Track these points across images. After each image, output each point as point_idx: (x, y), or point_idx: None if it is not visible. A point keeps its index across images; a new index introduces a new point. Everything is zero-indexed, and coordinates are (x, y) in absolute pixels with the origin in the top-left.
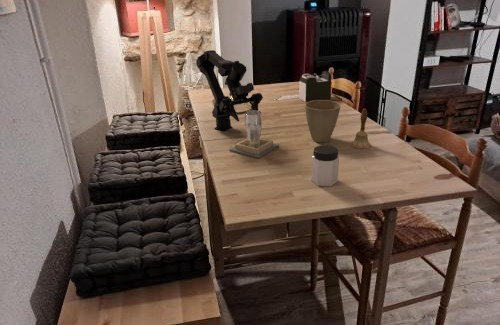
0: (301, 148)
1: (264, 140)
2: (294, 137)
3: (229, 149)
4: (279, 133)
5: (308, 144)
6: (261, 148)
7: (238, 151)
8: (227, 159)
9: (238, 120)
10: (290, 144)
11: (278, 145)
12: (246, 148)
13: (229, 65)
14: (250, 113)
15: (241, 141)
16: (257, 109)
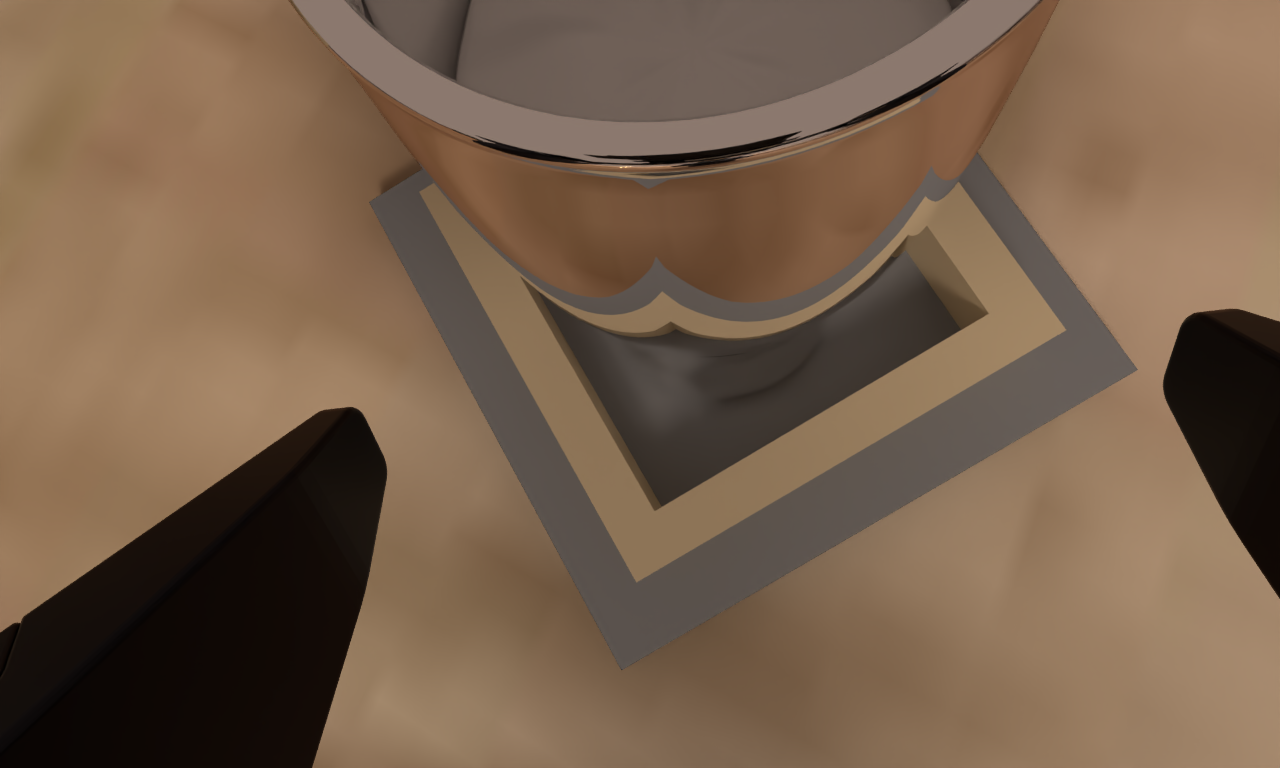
0: (178, 42)
1: (523, 279)
2: (34, 425)
3: (1134, 369)
4: None
5: (38, 121)
6: None
7: (1020, 217)
8: (1244, 87)
9: (1221, 311)
10: (216, 216)
11: (381, 199)
12: None
13: None
14: (670, 219)
15: (908, 406)
16: (91, 591)
